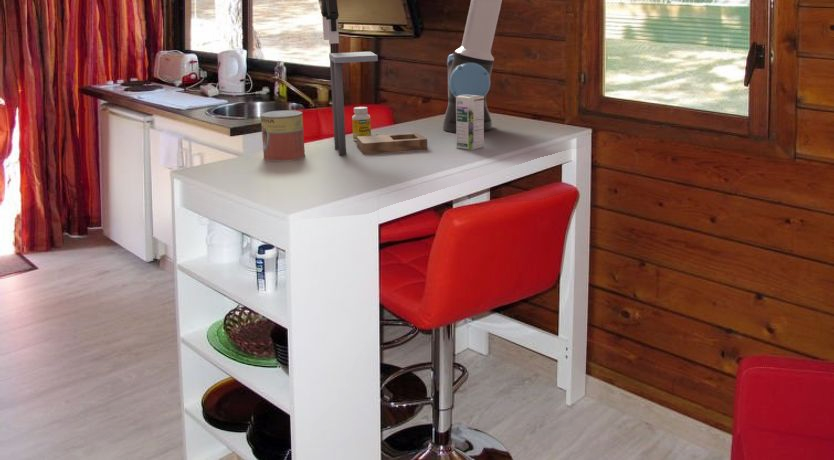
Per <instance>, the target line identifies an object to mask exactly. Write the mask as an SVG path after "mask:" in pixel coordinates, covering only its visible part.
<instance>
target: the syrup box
mask: <svg viewBox="0 0 834 460" xmlns="http://www.w3.org/2000/svg"><path fill="white" fill-rule="evenodd" d="M455 134H456V136H455V137H456V138H455V139H456V140H455V142H456V144H455V147H456V149H463V150H468V151H469V150H470V151H473V150H477V149H481V148H484V146H485V144H484V143H485V142H484V141H485V140H484V138H485V136H484V134H485V131H484V96H477V95H459V96H457V97H456V132H455Z"/></svg>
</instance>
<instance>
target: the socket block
mask: <svg viewBox="0 0 834 460" xmlns="http://www.w3.org/2000/svg"><path fill="white" fill-rule="evenodd" d="M356 146H357V148H358V150H359V151H360V152H361V153H362V155H374V154H385V153H397V152H398V153H400V152H401V153H402V152H417V151H428V139H427V138H426V137H425V136H424V135H423V134H421V133H420V132H406V133H404V132H403V133H390V134H374V135H372V134H371V136H357V141H356Z"/></svg>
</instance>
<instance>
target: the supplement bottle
mask: <svg viewBox="0 0 834 460" xmlns="http://www.w3.org/2000/svg"><path fill="white" fill-rule="evenodd" d="M353 113H354V114H353V115H352V117H351V123H352V139H353V141H354V142H357V136H372V127H371V126H372V125H371V115H370V114H368V107H367V106H355V107H353Z"/></svg>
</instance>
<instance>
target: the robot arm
mask: <svg viewBox="0 0 834 460" xmlns="http://www.w3.org/2000/svg"><path fill="white" fill-rule="evenodd" d="M502 1H503V0H470V5H469V7H468V8H469V9H468V13H467V18H466V23H465V26H464V32H463V37H462V41H461V45H460V46H459V47H458V48H457V49H456V50H454V52H453V53H451V54H449V55H447V62H446V66H447V100H448V102H447V103H448V104H447V107H446V111H445V114H444V118H443V121H442V129H443V131H446V132H451V133H456V97H457V96H459V95H477V96H484V132H485V131H490V130H492V129H493V121H492V117H491V115H490V111H489V108H488V105H487V94H488V93H489V92H490V91H489V90H490V88H491V74H492V71H493V67H494V62H495V58H494V56H493V55H492V48H493V47H492V46H493V43H494V38H495V34H496V30H497V25H498V20H499V16H500V11H501V7H502ZM320 3H321V7H320V8H321V12H320V14H321V16H322V33H323V35H322V36H323V40H324V41H328V44H330V45H331V44H340V37H339V21H338V20H339V17H340V14H339V8H338V0H321V2H320Z"/></svg>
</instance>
